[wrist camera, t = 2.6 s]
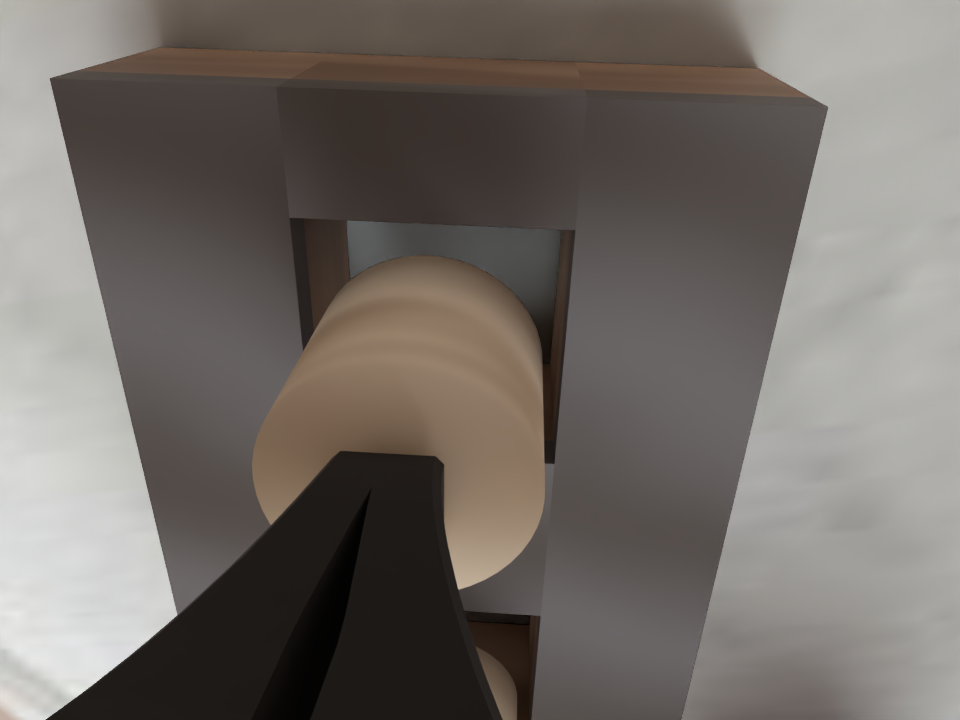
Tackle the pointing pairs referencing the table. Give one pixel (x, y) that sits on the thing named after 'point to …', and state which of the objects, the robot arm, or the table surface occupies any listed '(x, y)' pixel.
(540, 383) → the outer peg
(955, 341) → the table surface
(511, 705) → the inner peg
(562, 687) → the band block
